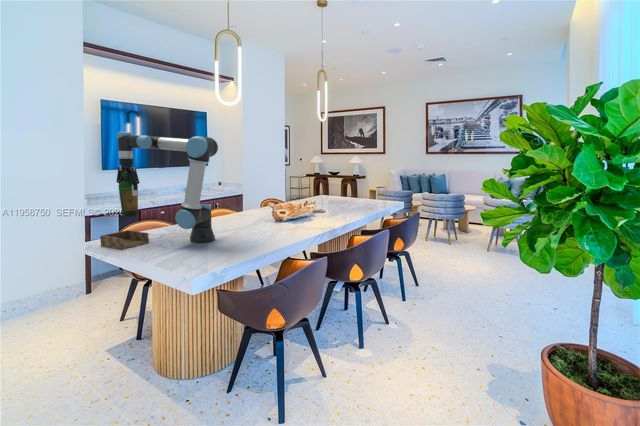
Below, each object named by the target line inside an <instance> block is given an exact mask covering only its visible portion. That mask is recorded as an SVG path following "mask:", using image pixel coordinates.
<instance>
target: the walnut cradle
mask: <svg viewBox="0 0 640 426" xmlns="http://www.w3.org/2000/svg"><path fill="white" fill-rule="evenodd" d="M99 237H100V239H99V240H100V246H101V247H103V248H104V247H105V248H109V249H110V248H111V249H115V250H121V251H123V250H126V249H130V248H134V247H138V246H142V245H146V244H149V243H150V241H149V233H148V232H143V231H135V230H127V229H126V230H123V231H117V232H111V233H108V234H102V235H100V236H99Z"/></svg>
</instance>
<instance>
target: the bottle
mask: <svg viewBox="0 0 640 426" xmlns="http://www.w3.org/2000/svg"><path fill="white" fill-rule="evenodd" d="M122 176H123V177H124V181H122V182H120V183H118V193H119V200H120V207H121V215H122V217H125V218H126V217H127V218H129V217H130V218H132V217H136V216H138V215H139V199H138V198H139V186H138V185H139V184H137V195H136V196H132V182H131V180H130V177H129V175H127V173H126V171H125V170H124V172H123V175H122Z"/></svg>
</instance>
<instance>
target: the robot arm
mask: <svg viewBox="0 0 640 426" xmlns="http://www.w3.org/2000/svg"><path fill="white" fill-rule="evenodd" d="M116 135H117V136H116V137H117V139H116V140H117V147H118V158H119V159H118V160H119V161H118V163H119V166H117V175H116V181H115V182H116V183H118V184H119V183H120V182H122V181H124V177H123V176H122V175H123V172H124V170H125V171H126V173H127V175H129V177H130V180H131V182H132V196H136V195H137V185H139V184H140V179H139V176H138V172H137V167H133V165H134V159H133V158H134V154H133V149H144V150H145V149H152V150H165V151H176V152H186V153H187V159H188V160H189V166H188V174H187V175H188V176H187V180H186V181H187V182H186V187H185V195H184V201H183V202H182V203H181V204H180V209H179V210H178V211H177V212H176V213H175V216H174V218H175V222H176V224H177V225H178V227H180V228H181V229H184V230H189V229H191V232H190V235H189V241H190V242H192V243H210V242H213V241H215V239H216V238H215V237H216V236H215V234H214V230H213V227H212V226H213V225H212V208H211V205H210V204H206V203H200V202H201V198H202V197H201V196H202V191H203V183H204V177H205V171H206V167H207V166H206V165H207V164H209V162H210V158H211V157H214V156H215V155H216V154H217V153H218V150H219V145H218V142H217V141H216V140H215V139H214V138H212V137H209V136H207V137H206V136H199V135H196V136H192V137H190V138H180V137H179V138H178V137H176V138H175V137H167V136H166V137H163V136H153V135H152V136H151V135H143V134H140V135H132V132H130V131H118V132H117V133H116Z"/></svg>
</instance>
